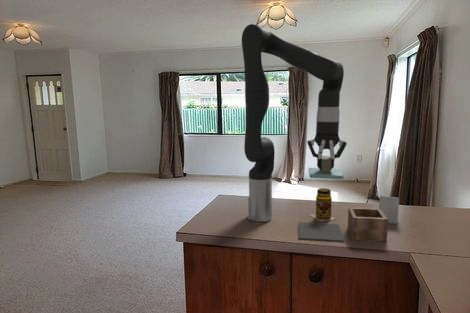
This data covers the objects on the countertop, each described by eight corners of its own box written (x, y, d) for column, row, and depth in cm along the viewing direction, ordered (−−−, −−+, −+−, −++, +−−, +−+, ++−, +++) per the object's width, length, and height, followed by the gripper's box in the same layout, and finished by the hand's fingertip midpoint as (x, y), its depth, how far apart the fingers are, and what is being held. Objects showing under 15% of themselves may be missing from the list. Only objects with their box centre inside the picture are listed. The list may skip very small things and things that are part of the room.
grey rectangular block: (397, 224, 125) (398, 199, 124) (378, 221, 129) (379, 196, 127) (397, 221, 128) (399, 196, 127) (379, 218, 132) (380, 194, 130)
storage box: (352, 240, 112) (353, 217, 110) (347, 227, 122) (348, 207, 121) (386, 242, 110) (388, 219, 108) (378, 229, 120) (380, 208, 119)
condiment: (321, 222, 129) (322, 192, 127) (308, 215, 137) (309, 187, 135) (336, 219, 132) (337, 190, 130) (323, 213, 139) (323, 185, 137)
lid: (309, 177, 111) (310, 160, 110) (308, 170, 122) (309, 154, 121) (343, 179, 109) (344, 161, 108) (339, 171, 120) (340, 155, 119)
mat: (298, 239, 113) (298, 237, 113) (298, 223, 128) (298, 222, 128) (344, 241, 110) (344, 240, 110) (338, 225, 125) (338, 224, 125)
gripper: (307, 120, 110) (305, 170, 113) (350, 121, 107) (347, 172, 110) (306, 119, 117) (304, 166, 120) (347, 119, 114) (344, 167, 118)
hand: (325, 168), depth 115 cm, fingers closed on lid, 3 cm apart
